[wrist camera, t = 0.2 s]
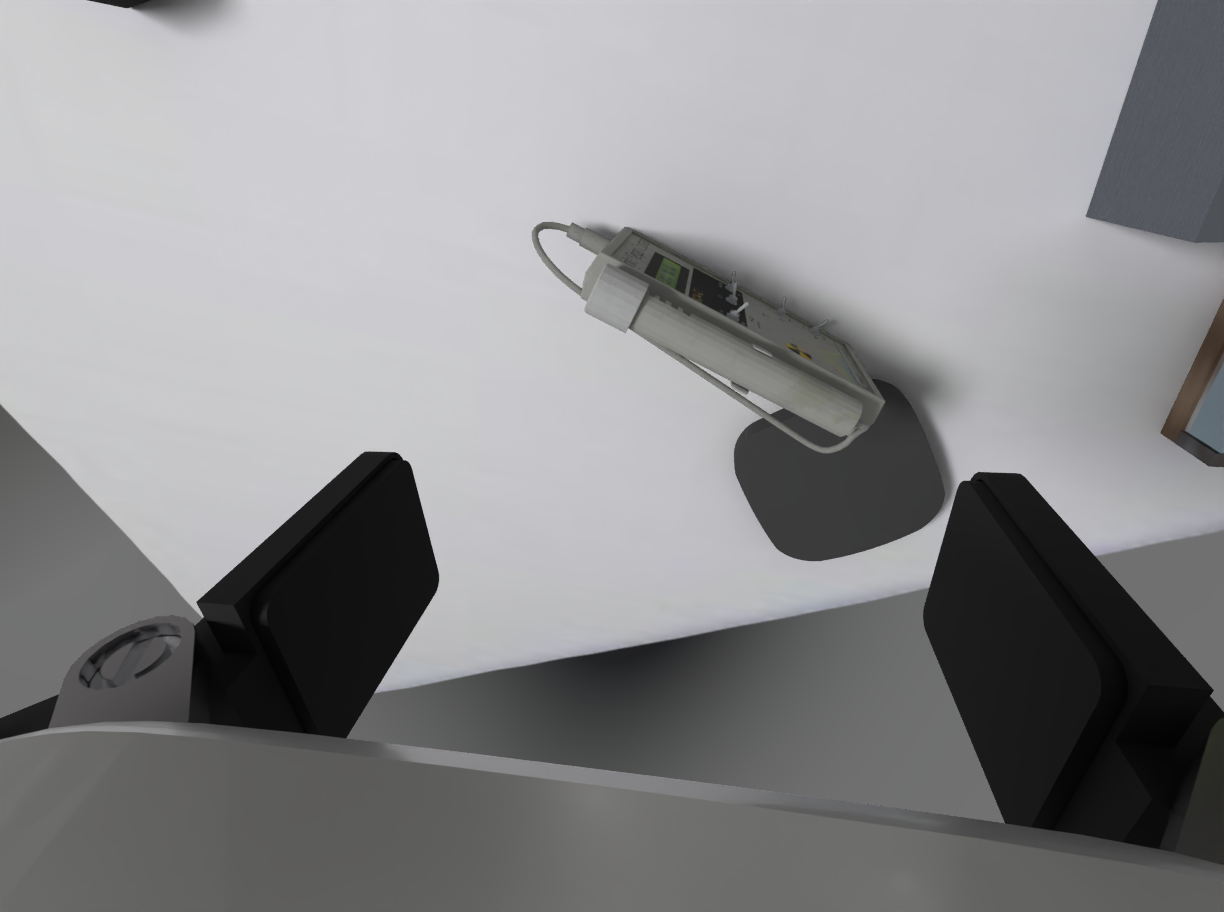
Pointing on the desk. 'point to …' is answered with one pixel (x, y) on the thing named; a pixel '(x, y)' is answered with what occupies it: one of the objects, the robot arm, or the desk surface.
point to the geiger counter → (724, 332)
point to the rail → (1198, 395)
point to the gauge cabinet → (1171, 130)
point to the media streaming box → (840, 482)
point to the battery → (121, 2)
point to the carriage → (1212, 416)
